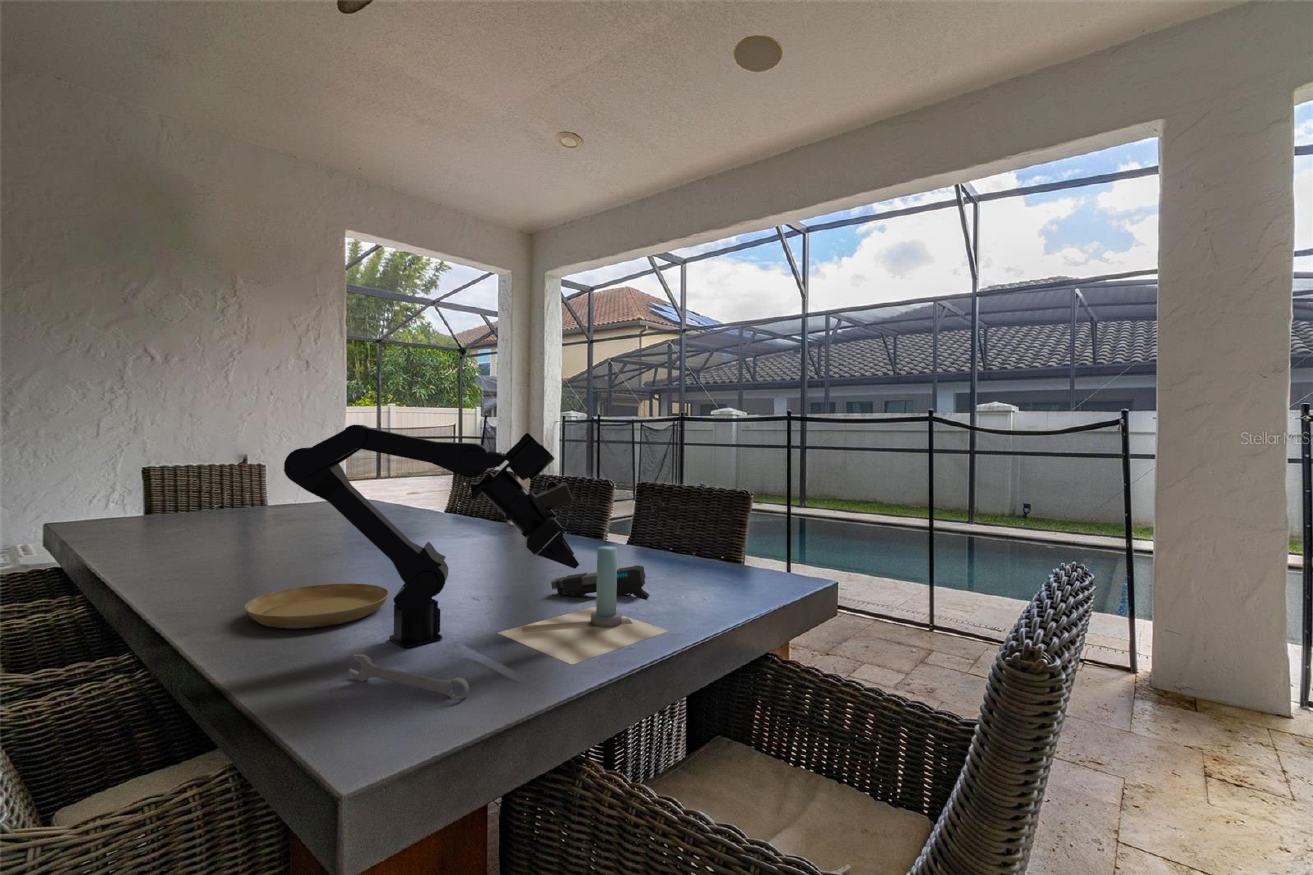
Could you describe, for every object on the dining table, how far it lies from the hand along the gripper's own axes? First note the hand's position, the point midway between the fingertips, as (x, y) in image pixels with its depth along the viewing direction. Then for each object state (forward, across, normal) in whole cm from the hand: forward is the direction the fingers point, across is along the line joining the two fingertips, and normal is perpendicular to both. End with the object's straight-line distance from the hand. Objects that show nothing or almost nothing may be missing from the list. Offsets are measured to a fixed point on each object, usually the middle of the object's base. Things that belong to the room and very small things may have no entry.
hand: (574, 561), depth 108 cm
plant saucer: (-24, +19, +42) cm, 52 cm away
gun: (+15, +21, +4) cm, 26 cm away
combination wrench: (-8, -20, +27) cm, 34 cm away
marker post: (+12, 0, +4) cm, 13 cm away
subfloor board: (+10, -4, +8) cm, 13 cm away
